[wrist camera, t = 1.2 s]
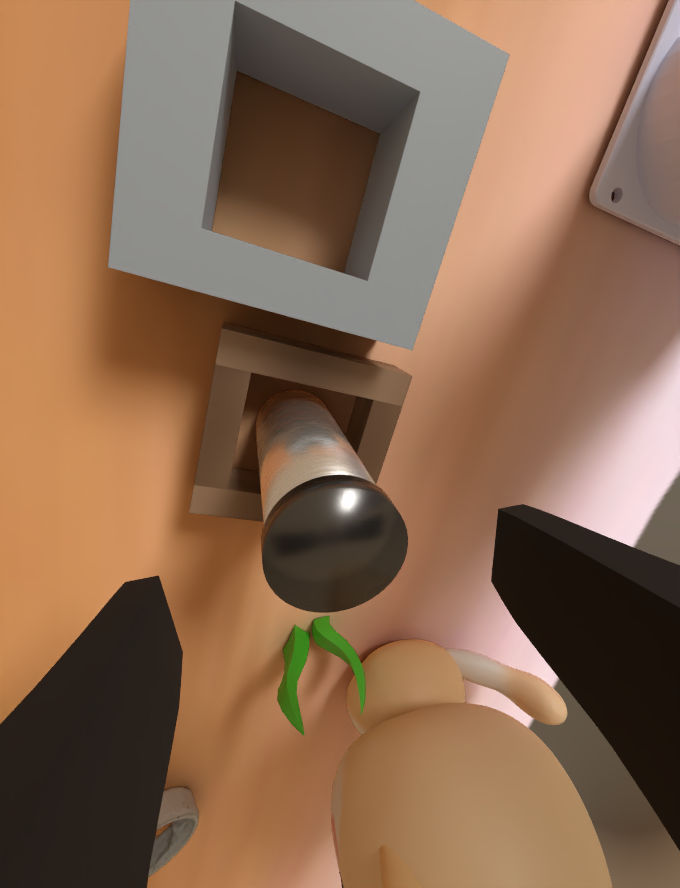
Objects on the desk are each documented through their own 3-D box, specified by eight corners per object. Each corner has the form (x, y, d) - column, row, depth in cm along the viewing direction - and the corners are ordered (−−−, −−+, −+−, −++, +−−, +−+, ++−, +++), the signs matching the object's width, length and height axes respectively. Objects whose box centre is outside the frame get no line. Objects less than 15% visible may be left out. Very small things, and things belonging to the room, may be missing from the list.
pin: (342, 397, 17) (427, 499, 9) (322, 468, 18) (382, 615, 10) (262, 379, 16) (281, 477, 8) (245, 456, 17) (248, 608, 9)
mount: (394, 365, 17) (412, 376, 15) (348, 508, 19) (359, 532, 17) (224, 322, 15) (221, 328, 13) (194, 488, 17) (189, 513, 15)
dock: (449, 104, 14) (509, 54, 11) (379, 336, 16) (412, 350, 13) (170, -33, 11) (142, -153, 8) (139, 269, 14) (108, 267, 11)
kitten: (233, 698, 22) (219, 1347, 9) (327, 560, 20) (499, 1138, 7) (432, 739, 28) (611, 1174, 14) (523, 635, 26) (832, 1031, 12)
